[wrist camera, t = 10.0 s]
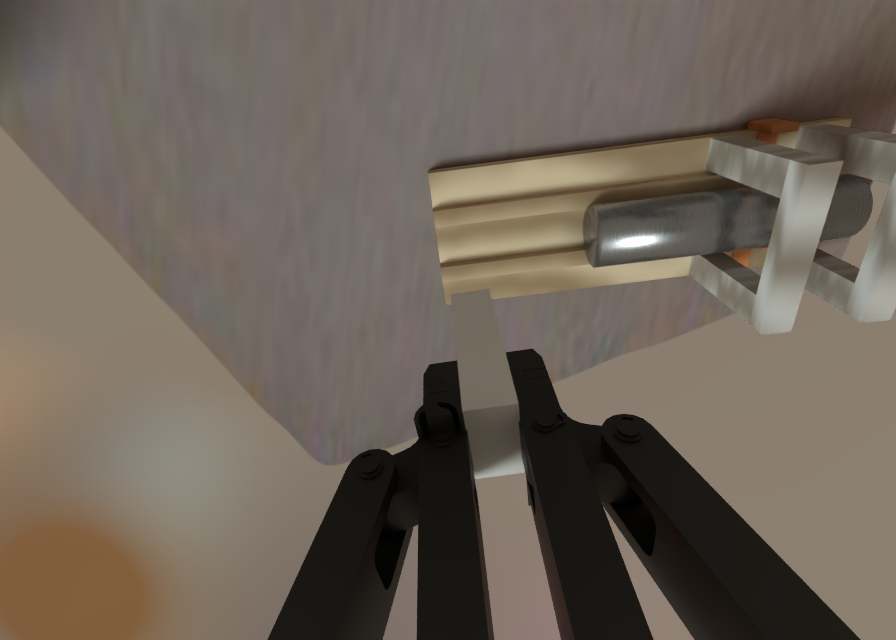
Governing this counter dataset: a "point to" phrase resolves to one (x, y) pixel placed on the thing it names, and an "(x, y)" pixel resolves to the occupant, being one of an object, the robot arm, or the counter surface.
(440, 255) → the rail
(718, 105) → the counter surface
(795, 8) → the counter surface
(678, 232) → the tube
